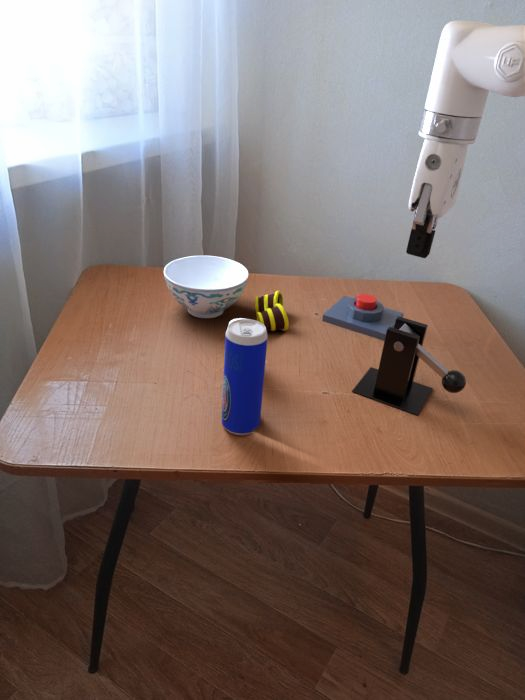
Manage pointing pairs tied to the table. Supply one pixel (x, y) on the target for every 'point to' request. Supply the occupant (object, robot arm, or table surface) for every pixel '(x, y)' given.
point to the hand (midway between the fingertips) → (417, 254)
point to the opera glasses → (271, 312)
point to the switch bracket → (397, 370)
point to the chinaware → (205, 283)
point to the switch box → (361, 317)
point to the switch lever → (440, 368)
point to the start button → (366, 302)
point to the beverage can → (243, 375)
